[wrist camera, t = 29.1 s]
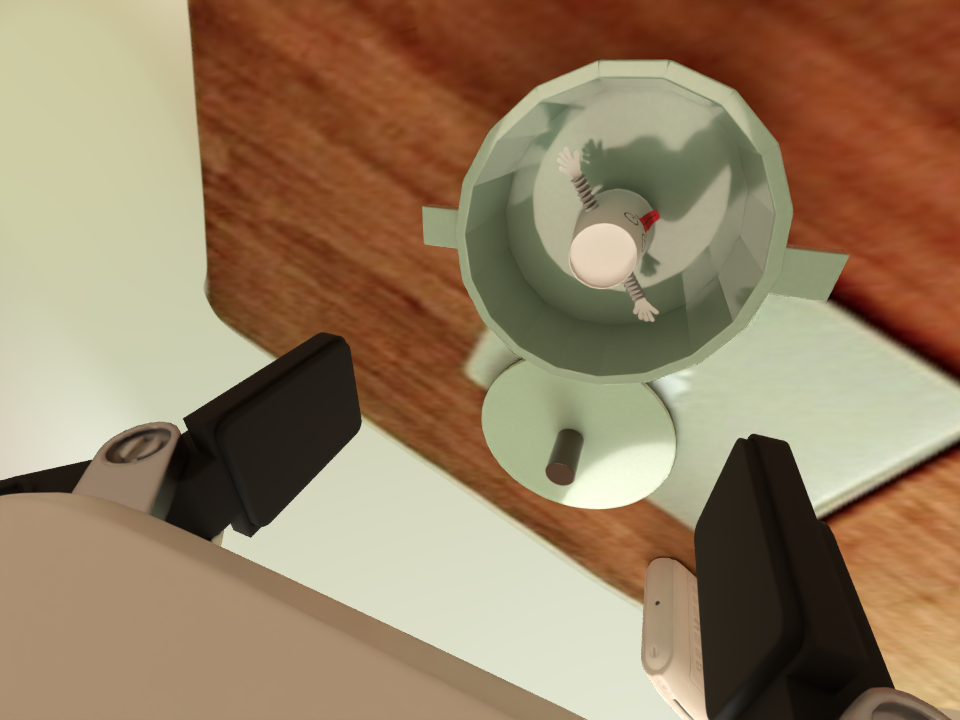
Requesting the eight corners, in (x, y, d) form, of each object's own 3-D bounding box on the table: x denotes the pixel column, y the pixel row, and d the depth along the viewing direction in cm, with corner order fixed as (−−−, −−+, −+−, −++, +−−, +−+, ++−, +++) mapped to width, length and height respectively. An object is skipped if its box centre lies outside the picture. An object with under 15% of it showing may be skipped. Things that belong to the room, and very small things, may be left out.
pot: (470, 73, 28) (408, 60, 21) (867, 75, 21) (961, 57, 15) (467, 303, 37) (423, 345, 30) (746, 355, 30) (769, 424, 24)
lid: (488, 330, 38) (463, 362, 33) (704, 374, 32) (710, 419, 28) (482, 470, 47) (462, 510, 42) (648, 522, 42) (645, 574, 37)
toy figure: (695, 277, 29) (705, 328, 22) (619, 309, 32) (606, 363, 25) (620, 114, 26) (603, 113, 19) (543, 166, 29) (506, 182, 22)
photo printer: (639, 561, 45) (631, 686, 35) (672, 551, 43) (675, 683, 33) (701, 620, 46) (711, 759, 36) (738, 614, 43) (760, 761, 34)
